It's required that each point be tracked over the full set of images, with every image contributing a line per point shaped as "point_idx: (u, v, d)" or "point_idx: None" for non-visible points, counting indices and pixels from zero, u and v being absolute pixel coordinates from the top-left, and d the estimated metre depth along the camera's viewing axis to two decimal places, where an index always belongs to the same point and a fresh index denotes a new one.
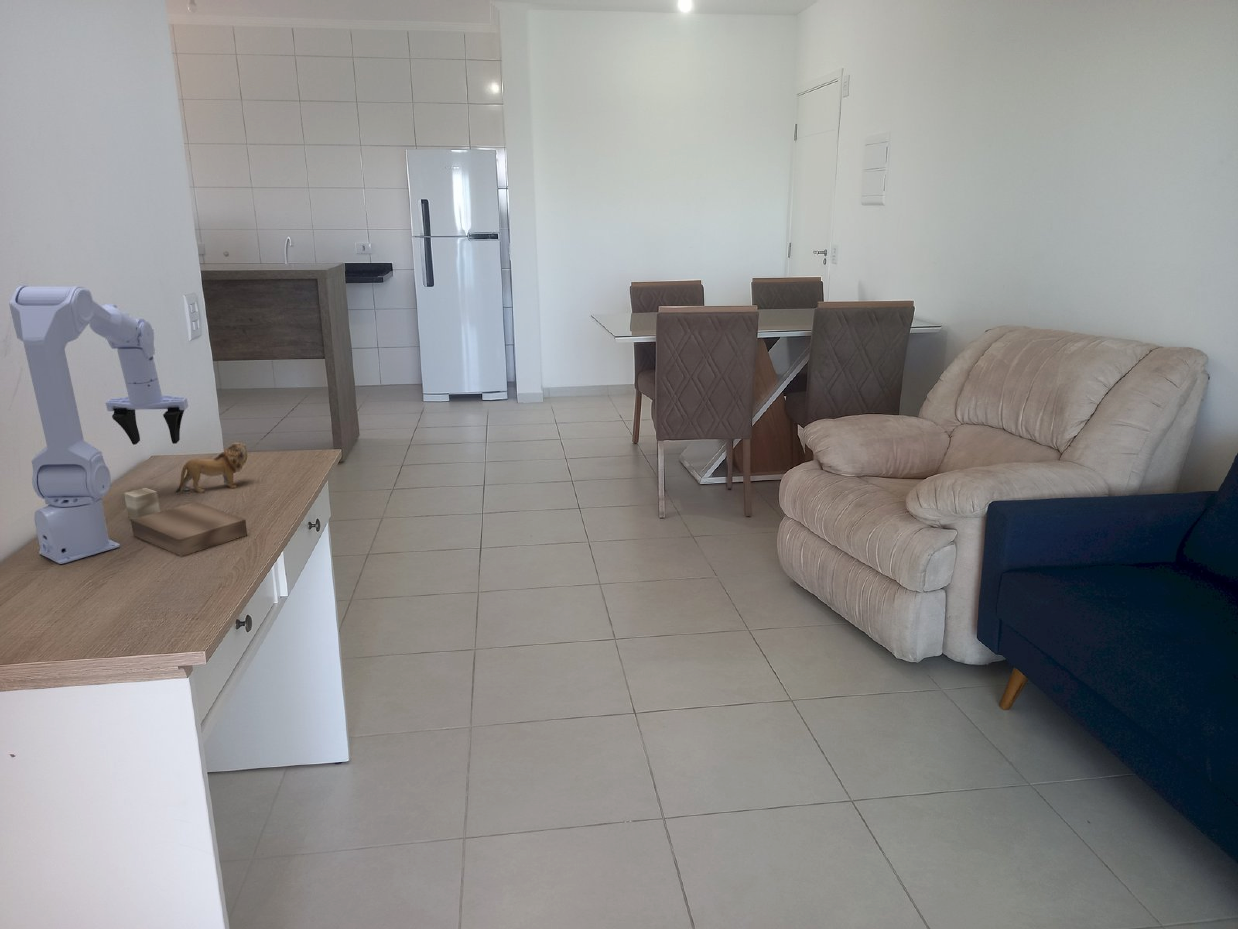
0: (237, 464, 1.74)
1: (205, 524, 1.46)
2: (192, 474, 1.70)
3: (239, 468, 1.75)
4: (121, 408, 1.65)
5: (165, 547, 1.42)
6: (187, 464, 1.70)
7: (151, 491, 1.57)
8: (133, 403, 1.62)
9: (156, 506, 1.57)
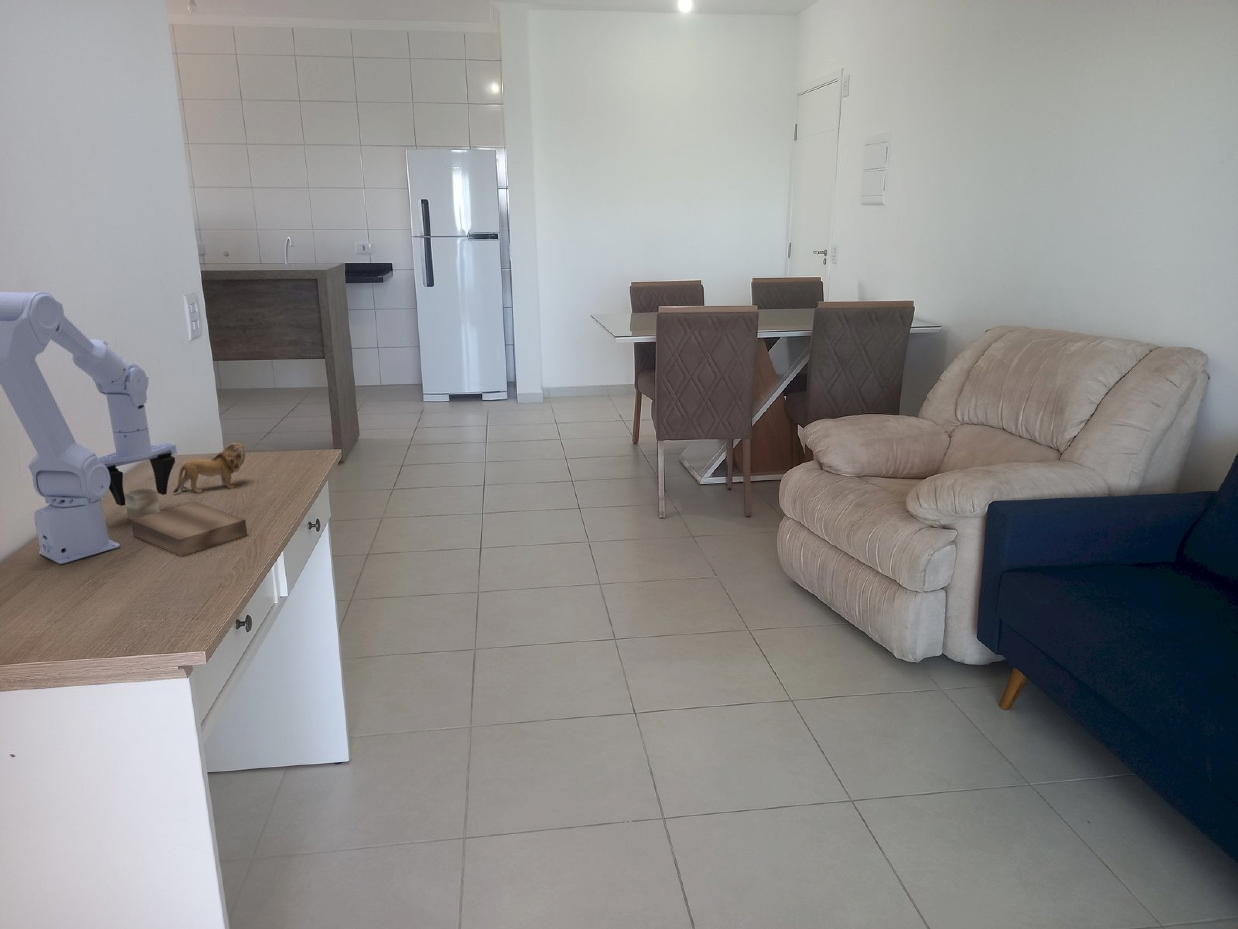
0: (235, 464, 1.74)
1: (205, 524, 1.46)
2: (190, 474, 1.70)
3: (237, 468, 1.75)
4: (108, 466, 1.50)
5: (165, 547, 1.42)
6: (185, 464, 1.70)
7: (151, 491, 1.57)
8: (132, 454, 1.51)
9: (156, 506, 1.57)
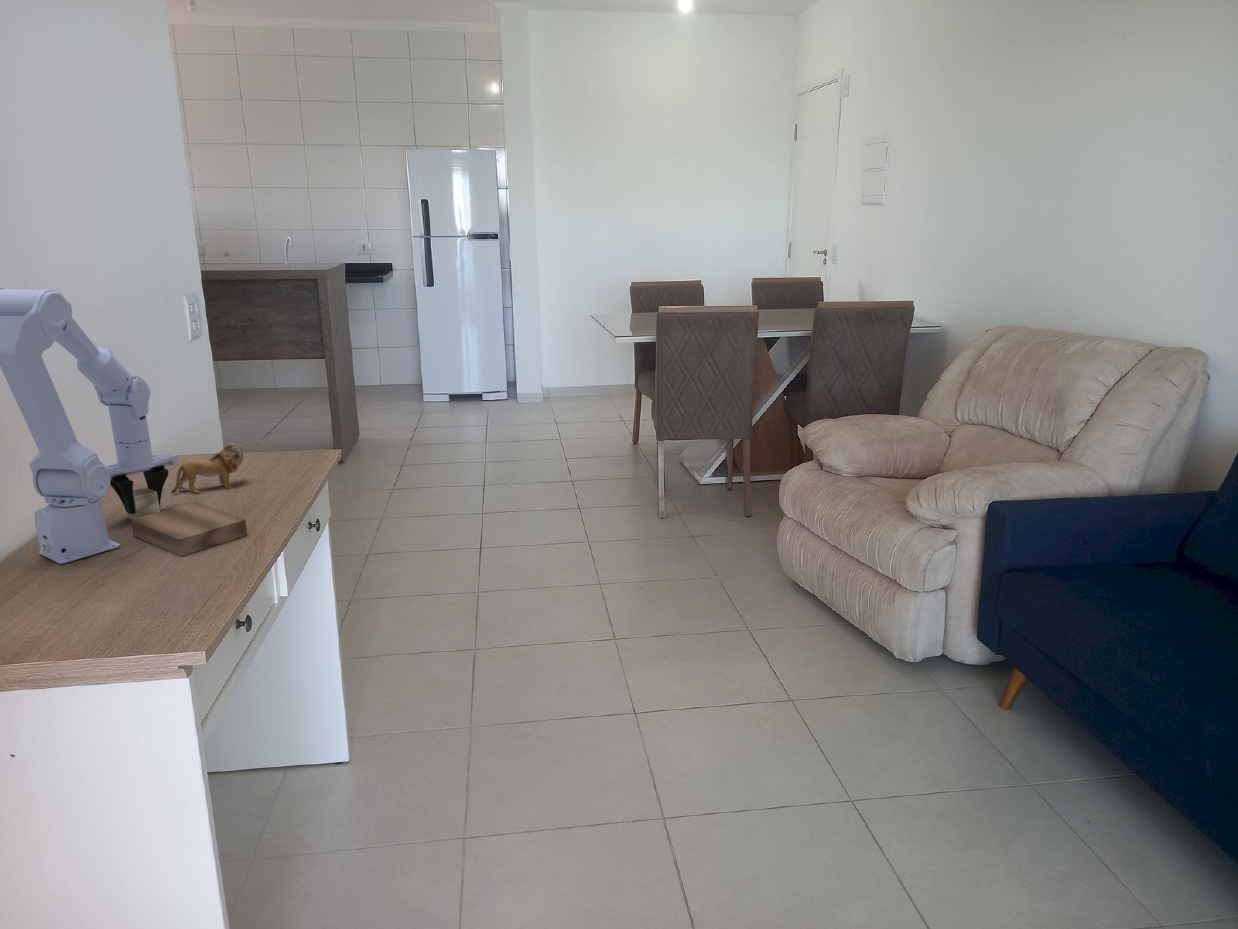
0: (233, 464, 1.74)
1: (205, 524, 1.46)
2: (188, 474, 1.70)
3: (235, 468, 1.74)
4: (110, 477, 1.51)
5: (165, 547, 1.42)
6: (183, 465, 1.70)
7: (151, 491, 1.57)
8: (134, 465, 1.52)
9: (156, 506, 1.57)
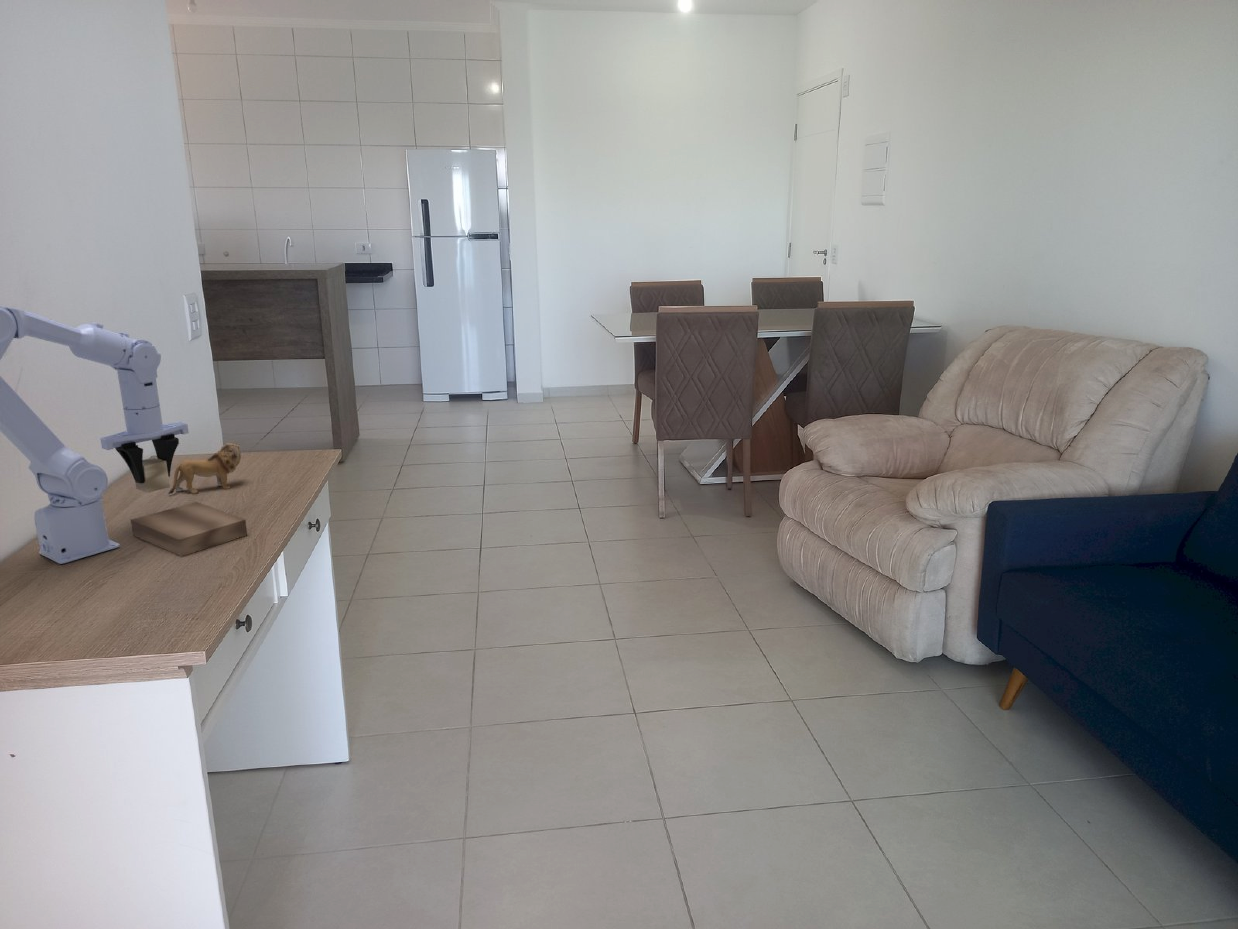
0: (231, 465, 1.73)
1: (205, 524, 1.46)
2: (185, 475, 1.70)
3: (233, 469, 1.74)
4: (119, 444, 1.46)
5: (165, 547, 1.42)
6: (180, 465, 1.70)
7: (160, 460, 1.52)
8: (144, 432, 1.47)
9: (165, 476, 1.52)
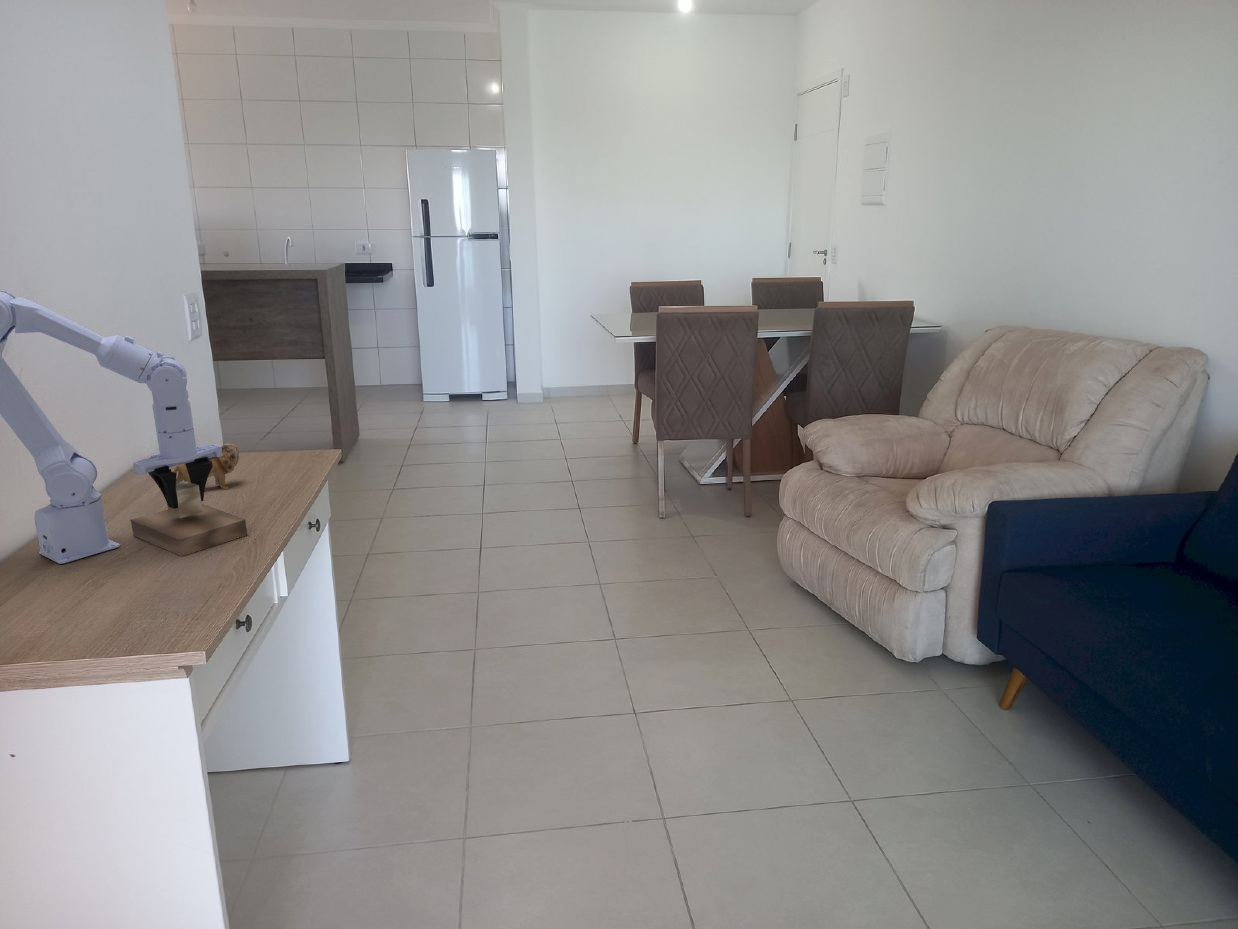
0: (229, 465, 1.73)
1: (205, 524, 1.46)
2: (183, 475, 1.69)
3: (231, 469, 1.74)
4: (152, 469, 1.41)
5: (165, 547, 1.42)
6: (178, 465, 1.69)
7: (193, 485, 1.47)
8: (178, 456, 1.42)
9: (198, 501, 1.47)
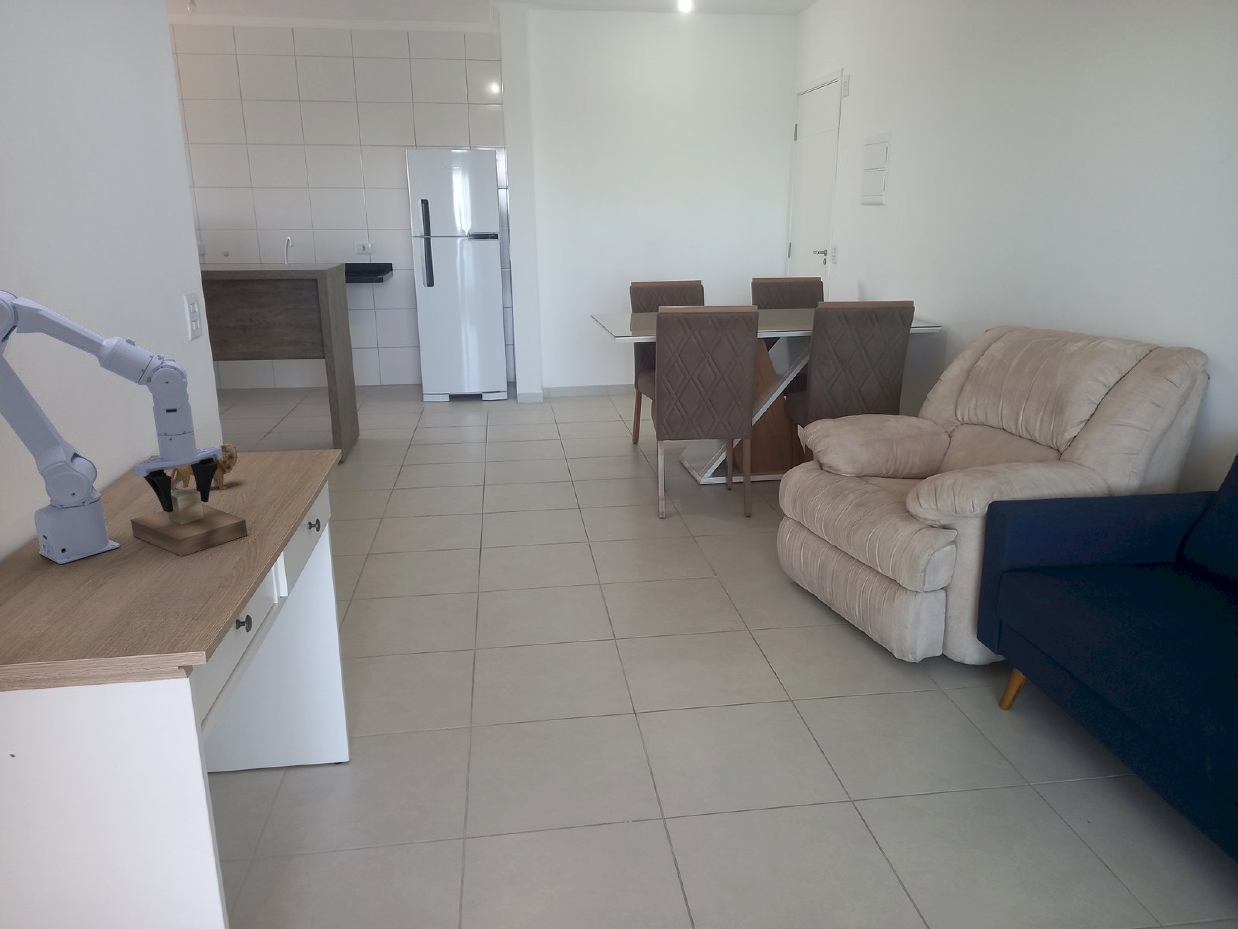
0: (228, 465, 1.73)
1: (205, 524, 1.46)
2: (182, 475, 1.69)
3: (229, 469, 1.74)
4: (152, 471, 1.41)
5: (165, 547, 1.42)
6: None
7: (194, 491, 1.47)
8: (178, 458, 1.42)
9: (199, 507, 1.48)
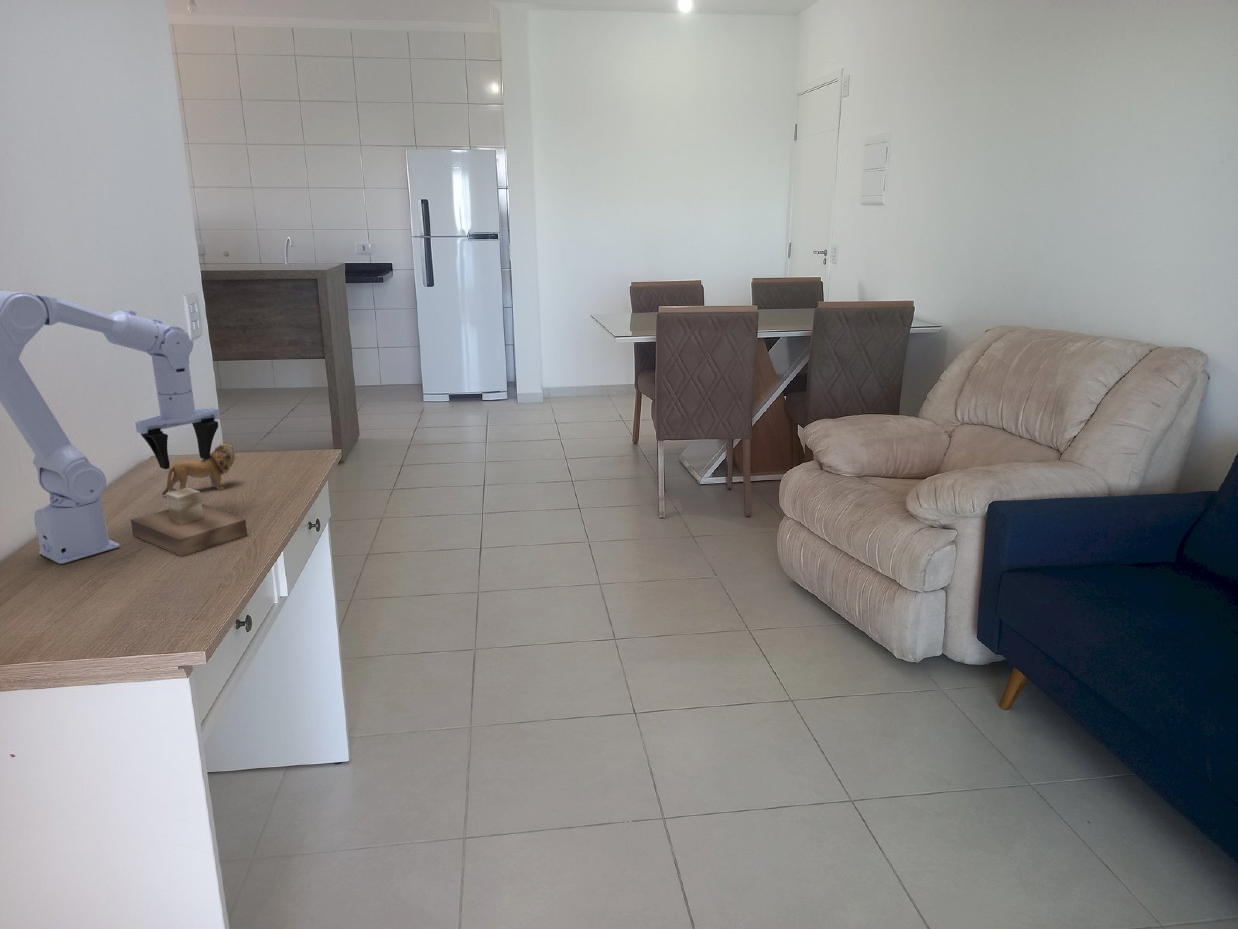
0: (225, 465, 1.73)
1: (205, 524, 1.46)
2: (179, 476, 1.69)
3: (226, 470, 1.74)
4: (153, 428, 1.49)
5: (165, 547, 1.42)
6: (174, 466, 1.69)
7: (194, 491, 1.47)
8: (177, 417, 1.50)
9: (199, 507, 1.48)
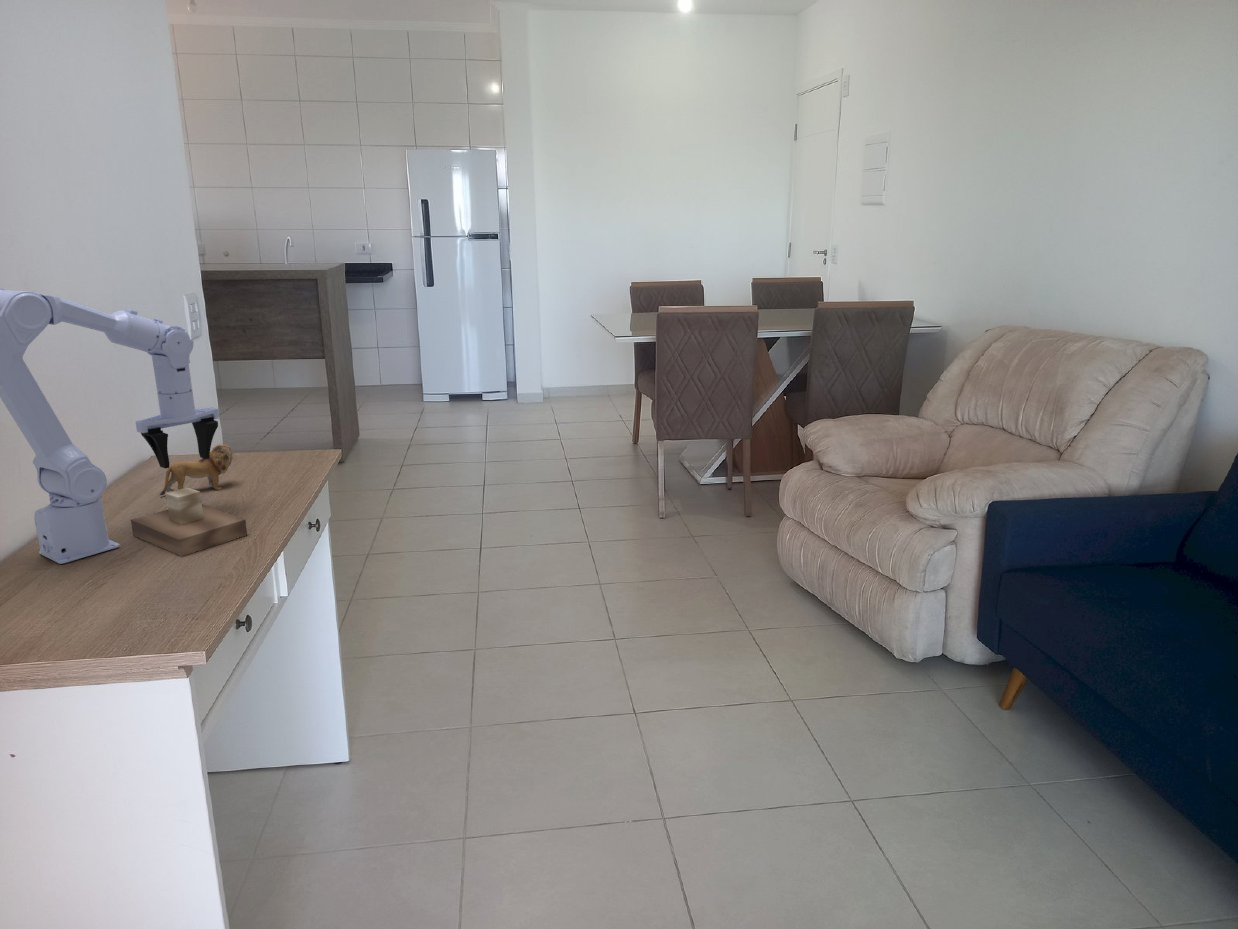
0: (223, 466, 1.73)
1: (205, 524, 1.46)
2: (177, 476, 1.69)
3: (224, 470, 1.73)
4: (153, 428, 1.50)
5: (165, 547, 1.42)
6: (171, 466, 1.69)
7: (194, 491, 1.47)
8: (177, 416, 1.51)
9: (199, 507, 1.48)
